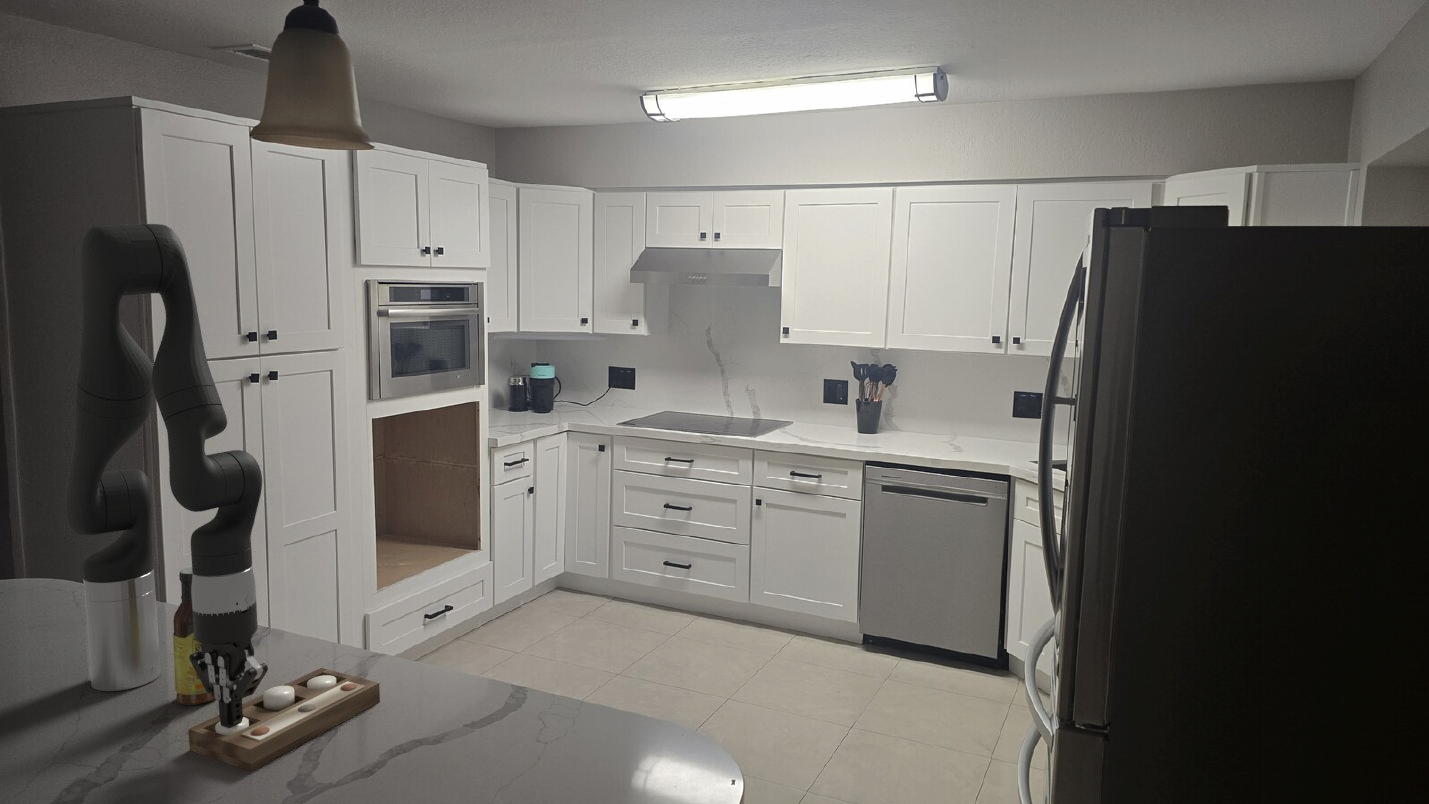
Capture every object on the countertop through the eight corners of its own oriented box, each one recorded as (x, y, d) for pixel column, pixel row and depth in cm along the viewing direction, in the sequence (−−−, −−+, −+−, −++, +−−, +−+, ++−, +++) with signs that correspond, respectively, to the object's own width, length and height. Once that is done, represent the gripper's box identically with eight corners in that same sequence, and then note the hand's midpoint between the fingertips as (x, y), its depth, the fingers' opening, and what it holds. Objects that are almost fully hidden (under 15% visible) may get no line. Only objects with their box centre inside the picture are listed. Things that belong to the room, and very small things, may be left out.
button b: (257, 707, 130) (256, 694, 130) (281, 696, 134) (280, 683, 133) (277, 713, 128) (276, 700, 128) (301, 702, 132) (300, 688, 132)
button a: (301, 696, 137) (301, 683, 137) (323, 685, 140) (322, 673, 140) (321, 701, 135) (320, 688, 135) (342, 690, 139) (341, 678, 139)
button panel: (189, 750, 123) (188, 726, 123) (322, 685, 143) (321, 665, 142) (251, 771, 118) (250, 746, 118) (379, 701, 138) (379, 680, 137)
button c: (209, 740, 123) (208, 726, 123) (235, 727, 127) (235, 714, 127) (229, 747, 122) (228, 733, 121) (256, 734, 125) (255, 720, 125)
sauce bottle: (202, 709, 135) (194, 578, 132) (165, 704, 136) (157, 575, 133) (234, 690, 141) (227, 565, 138) (198, 686, 142) (191, 562, 140)
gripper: (164, 602, 121) (173, 726, 123) (233, 618, 116) (240, 748, 118) (216, 585, 128) (223, 703, 130) (283, 600, 122) (289, 723, 125)
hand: (231, 724), depth 124 cm, fingers closed
